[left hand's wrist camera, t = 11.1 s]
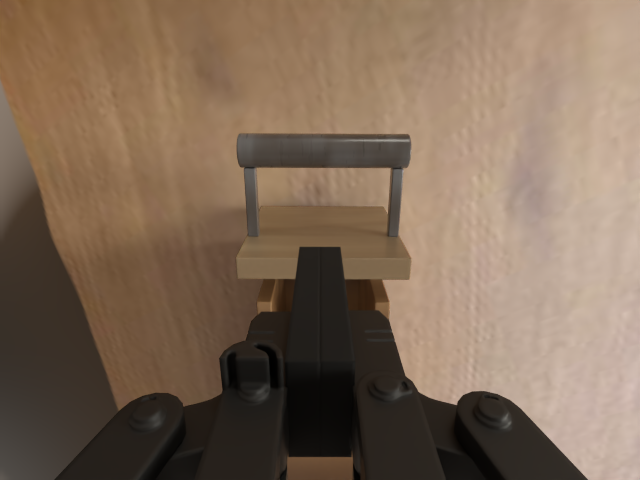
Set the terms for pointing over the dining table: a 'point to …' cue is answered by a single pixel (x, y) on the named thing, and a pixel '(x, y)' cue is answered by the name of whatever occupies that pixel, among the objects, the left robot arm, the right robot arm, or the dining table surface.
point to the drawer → (323, 218)
